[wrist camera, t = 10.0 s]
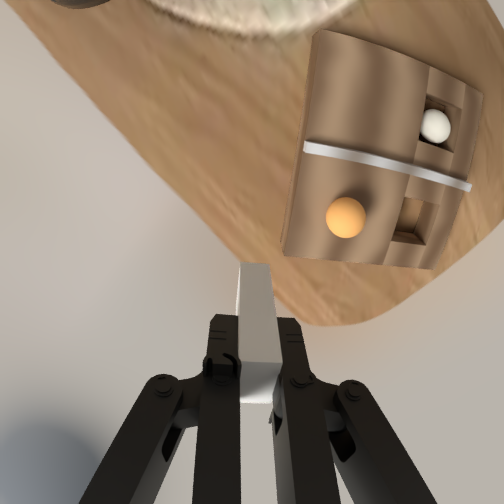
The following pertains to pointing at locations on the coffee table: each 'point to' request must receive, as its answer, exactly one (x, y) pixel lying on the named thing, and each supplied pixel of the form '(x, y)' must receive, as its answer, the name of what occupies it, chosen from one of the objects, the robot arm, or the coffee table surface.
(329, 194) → the putting board
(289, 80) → the coffee table surface
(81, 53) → the coffee table surface
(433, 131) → the cream ball
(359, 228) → the orange ball
